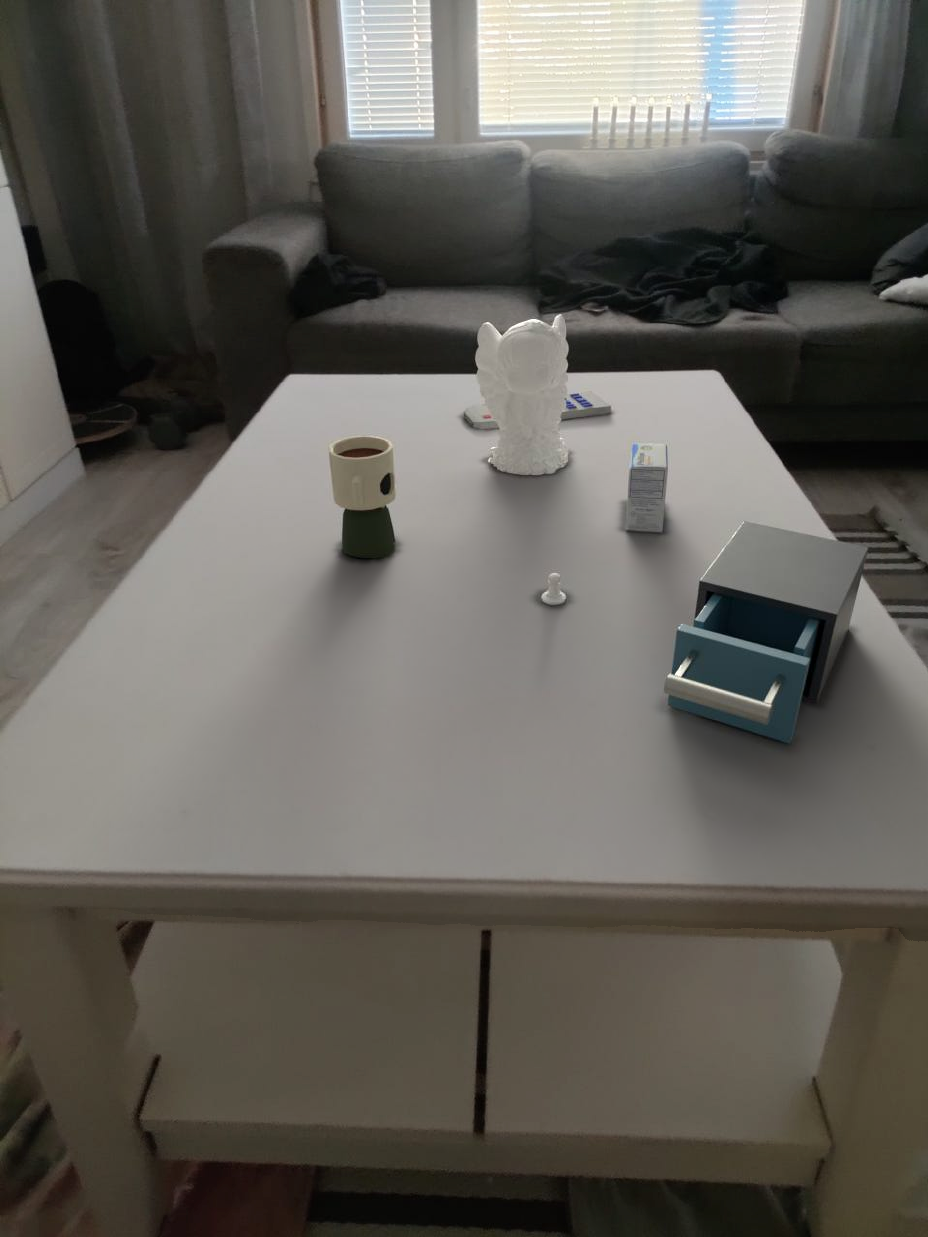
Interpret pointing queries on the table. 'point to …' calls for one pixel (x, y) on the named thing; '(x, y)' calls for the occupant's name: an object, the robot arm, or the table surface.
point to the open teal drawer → (745, 665)
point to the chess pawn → (553, 591)
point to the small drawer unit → (791, 583)
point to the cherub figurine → (525, 393)
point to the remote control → (575, 408)
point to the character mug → (364, 494)
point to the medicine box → (647, 487)
